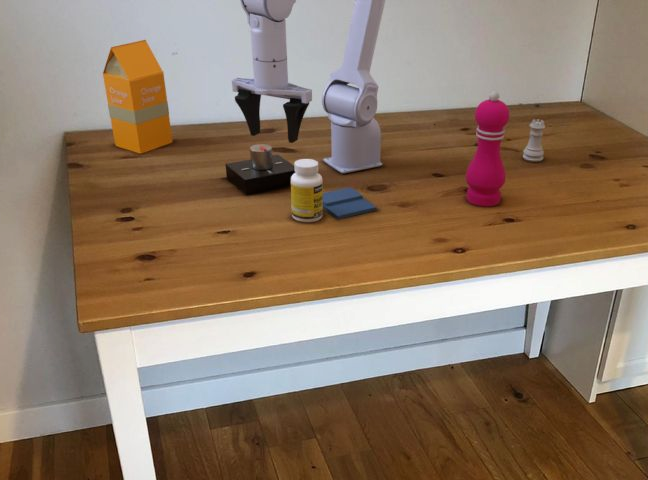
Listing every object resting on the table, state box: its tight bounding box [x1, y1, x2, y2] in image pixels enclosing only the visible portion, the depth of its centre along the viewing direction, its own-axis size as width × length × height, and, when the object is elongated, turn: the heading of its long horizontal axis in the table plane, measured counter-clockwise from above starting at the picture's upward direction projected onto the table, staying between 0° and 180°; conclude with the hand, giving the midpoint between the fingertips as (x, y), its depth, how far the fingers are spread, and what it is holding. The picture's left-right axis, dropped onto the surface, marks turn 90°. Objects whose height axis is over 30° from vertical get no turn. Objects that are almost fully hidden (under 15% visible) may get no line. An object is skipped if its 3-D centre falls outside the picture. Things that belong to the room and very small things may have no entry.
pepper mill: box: [465, 90, 510, 207], centre depth 137 cm, size 7×7×20 cm
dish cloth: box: [323, 186, 377, 220], centre depth 138 cm, size 8×9×1 cm
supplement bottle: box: [290, 158, 324, 223], centre depth 131 cm, size 5×5×10 cm
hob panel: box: [225, 154, 296, 196], centre depth 145 cm, size 11×9×3 cm
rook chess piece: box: [522, 119, 546, 163], centre depth 159 cm, size 4×4×8 cm
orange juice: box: [102, 39, 173, 155], centre depth 154 cm, size 8×9×20 cm
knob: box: [249, 143, 273, 170], centre depth 143 cm, size 4×4×4 cm
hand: (274, 137), depth 136 cm, fingers open, 7 cm apart
